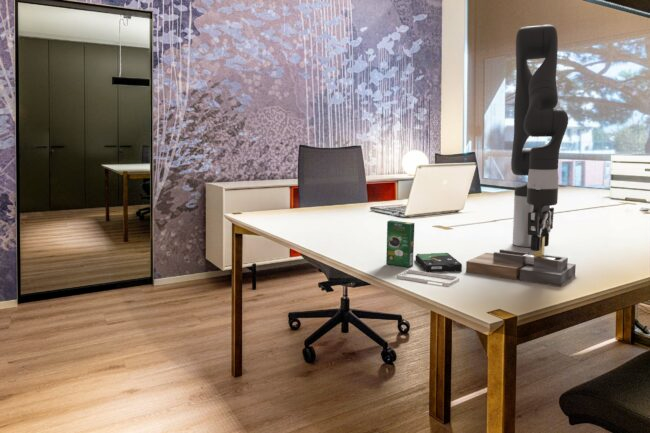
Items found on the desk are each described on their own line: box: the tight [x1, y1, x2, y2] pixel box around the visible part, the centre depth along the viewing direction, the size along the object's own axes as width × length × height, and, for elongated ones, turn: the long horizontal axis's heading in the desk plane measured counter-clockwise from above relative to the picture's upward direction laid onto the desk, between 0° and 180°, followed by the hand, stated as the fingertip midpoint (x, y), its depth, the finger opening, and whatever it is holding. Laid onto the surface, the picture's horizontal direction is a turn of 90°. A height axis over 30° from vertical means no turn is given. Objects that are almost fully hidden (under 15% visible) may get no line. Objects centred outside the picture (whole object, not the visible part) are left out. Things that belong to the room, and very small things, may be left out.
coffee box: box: [385, 219, 415, 268], centre depth 156 cm, size 8×3×13 cm, turn 54°
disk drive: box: [414, 252, 463, 273], centre depth 155 cm, size 10×3×15 cm
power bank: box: [396, 269, 460, 287], centre depth 141 cm, size 7×1×15 cm
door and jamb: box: [465, 248, 577, 288], centre depth 145 cm, size 14×25×6 cm, turn 51°
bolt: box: [523, 236, 556, 265], centre depth 141 cm, size 2×8×8 cm, turn 51°
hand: (539, 248), depth 141 cm, fingers open, 6 cm apart
